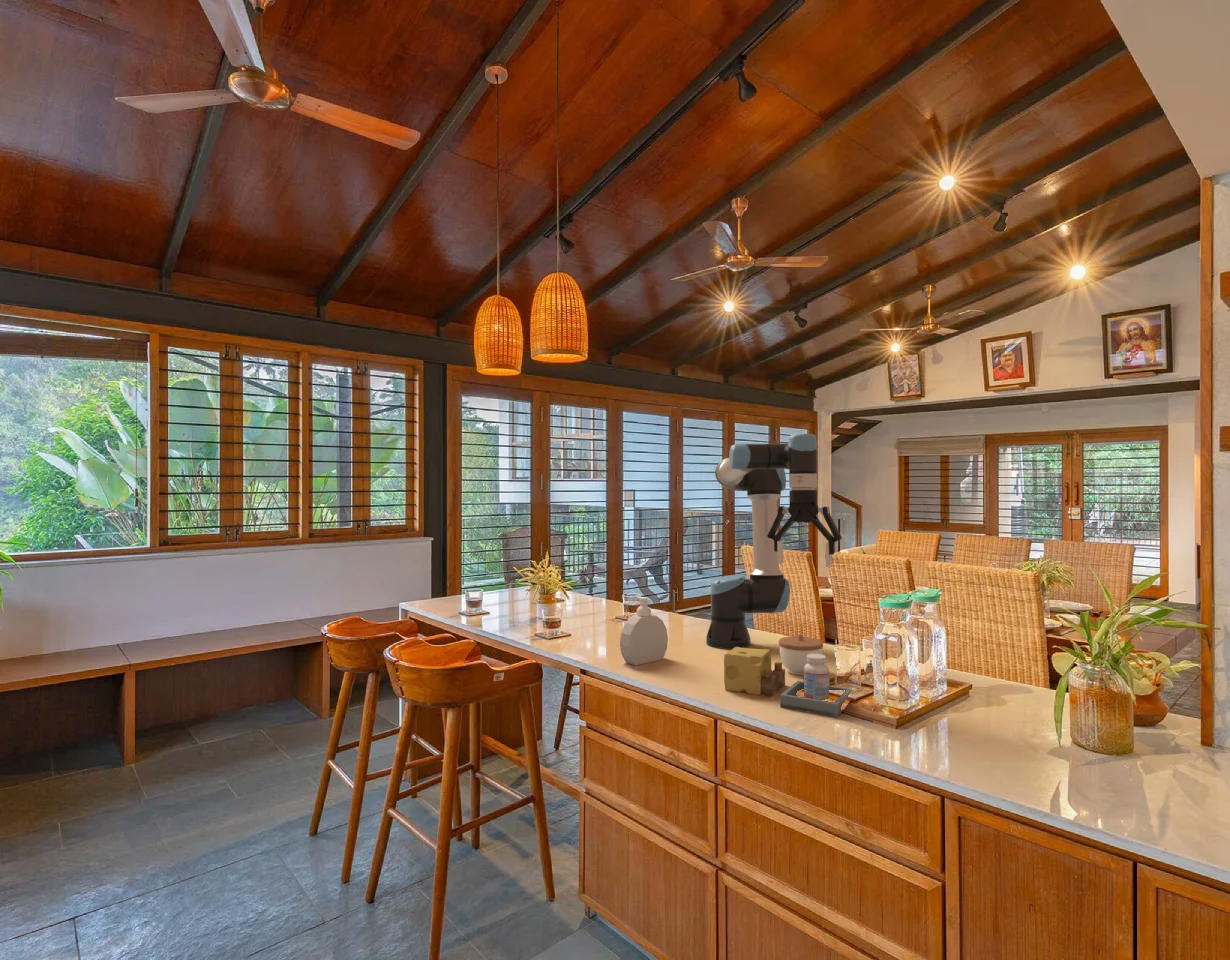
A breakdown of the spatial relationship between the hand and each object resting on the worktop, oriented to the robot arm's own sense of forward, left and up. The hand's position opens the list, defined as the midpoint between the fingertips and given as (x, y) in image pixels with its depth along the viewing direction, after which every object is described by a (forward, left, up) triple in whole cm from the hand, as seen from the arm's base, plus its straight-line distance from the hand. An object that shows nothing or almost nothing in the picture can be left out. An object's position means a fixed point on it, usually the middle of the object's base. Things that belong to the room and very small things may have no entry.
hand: (804, 565), depth 188 cm
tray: (+17, +8, -33) cm, 38 cm away
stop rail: (+12, -5, -33) cm, 35 cm away
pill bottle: (+17, +8, -32) cm, 37 cm away
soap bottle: (+4, -50, -33) cm, 60 cm away
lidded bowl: (-9, -4, -33) cm, 34 cm away
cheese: (+13, -12, -33) cm, 38 cm away
